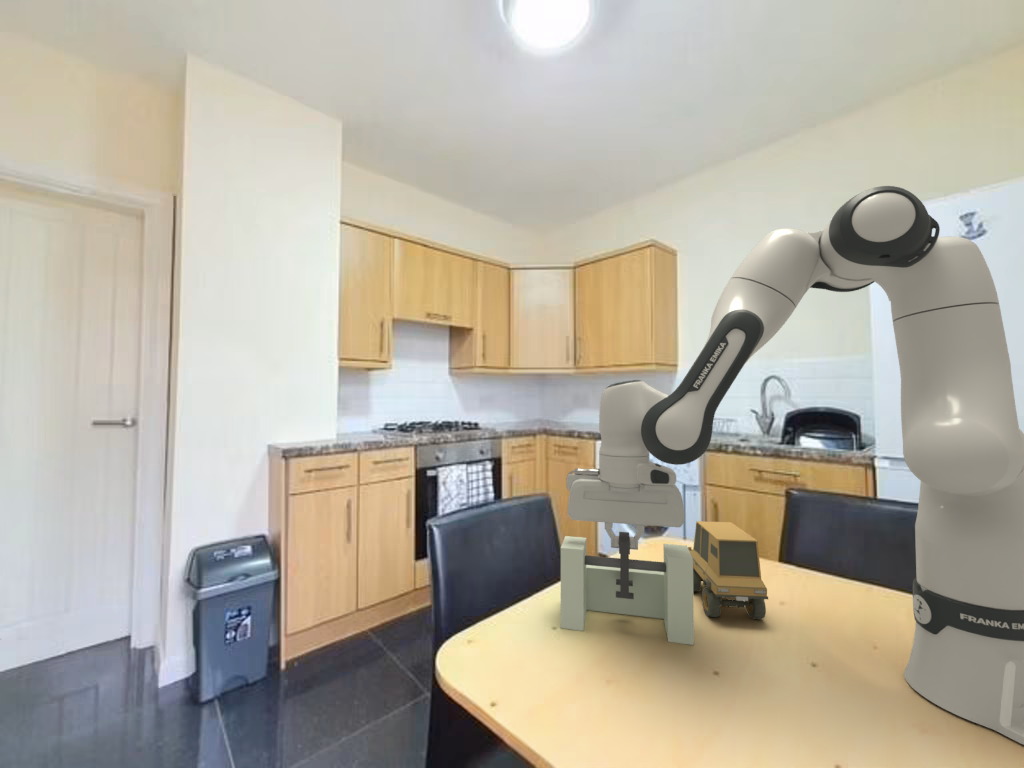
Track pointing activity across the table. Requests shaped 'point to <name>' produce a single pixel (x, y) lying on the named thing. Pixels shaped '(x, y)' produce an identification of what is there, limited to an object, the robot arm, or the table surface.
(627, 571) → the dark grey flanged post
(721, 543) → the toy car
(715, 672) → the table surface
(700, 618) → the table surface
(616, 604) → the lever switch frame
